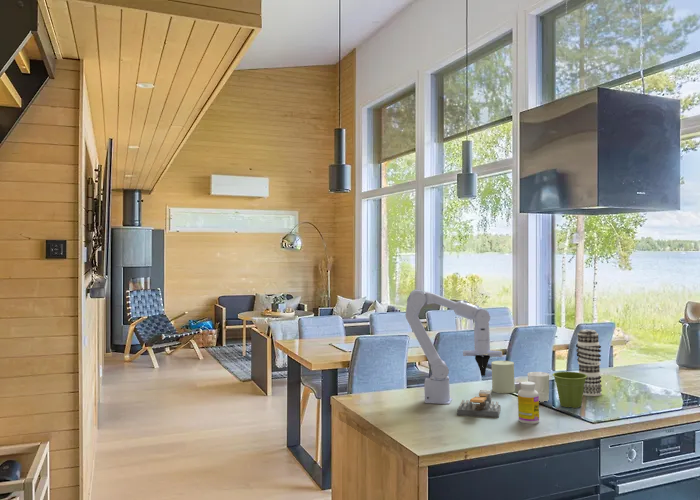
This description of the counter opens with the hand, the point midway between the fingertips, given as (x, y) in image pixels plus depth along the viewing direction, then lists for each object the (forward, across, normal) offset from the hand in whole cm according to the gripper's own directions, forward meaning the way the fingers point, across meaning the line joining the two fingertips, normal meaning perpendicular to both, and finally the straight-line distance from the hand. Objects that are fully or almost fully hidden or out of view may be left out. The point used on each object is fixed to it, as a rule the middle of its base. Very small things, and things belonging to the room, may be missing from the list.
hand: (483, 375), depth 217 cm
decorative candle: (+10, +39, +21) cm, 45 cm away
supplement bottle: (+10, +17, -24) cm, 31 cm away
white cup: (+10, +20, +6) cm, 23 cm away
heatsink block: (+10, 0, -17) cm, 20 cm away
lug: (+10, +1, -7) cm, 12 cm away
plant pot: (+10, +31, 0) cm, 33 cm away
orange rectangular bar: (+6, 0, -17) cm, 18 cm away
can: (+10, +6, +19) cm, 22 cm away
